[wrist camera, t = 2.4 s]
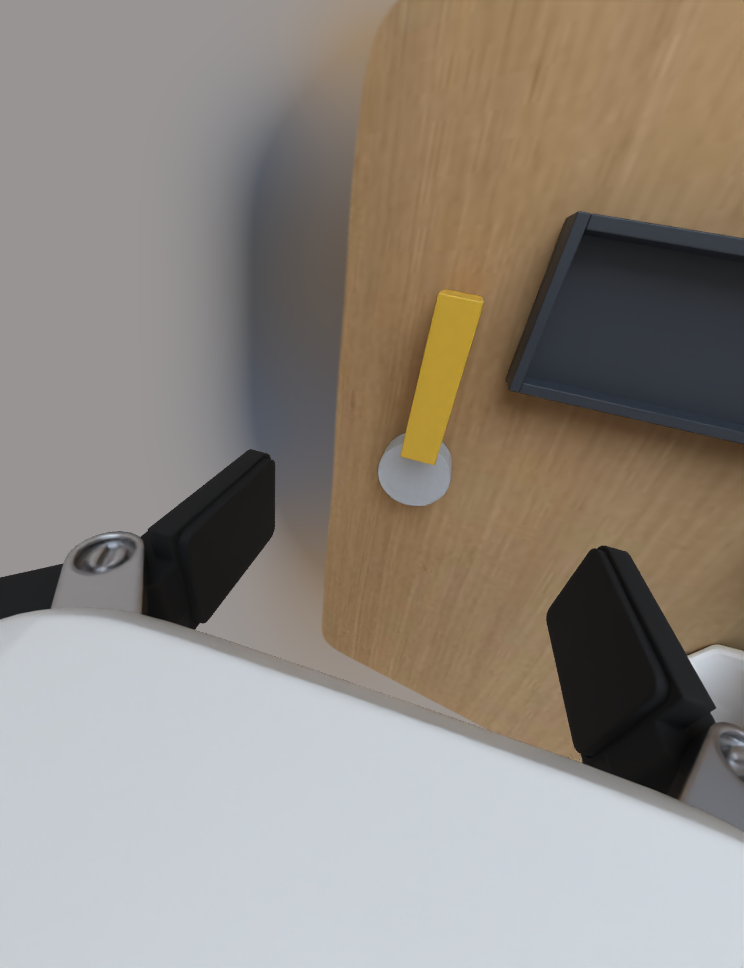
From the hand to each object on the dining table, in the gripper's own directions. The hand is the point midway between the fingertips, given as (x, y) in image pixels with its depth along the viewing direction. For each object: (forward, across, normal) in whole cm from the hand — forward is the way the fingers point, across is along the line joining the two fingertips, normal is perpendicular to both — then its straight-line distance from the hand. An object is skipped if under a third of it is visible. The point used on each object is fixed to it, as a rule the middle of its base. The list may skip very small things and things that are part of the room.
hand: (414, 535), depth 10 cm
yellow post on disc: (+15, +1, +2) cm, 15 cm away
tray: (+15, -12, -6) cm, 20 cm away
